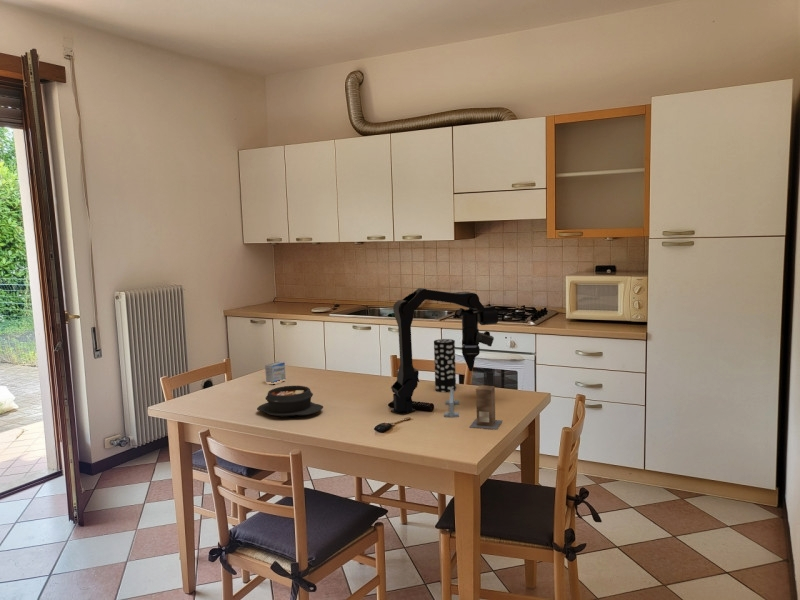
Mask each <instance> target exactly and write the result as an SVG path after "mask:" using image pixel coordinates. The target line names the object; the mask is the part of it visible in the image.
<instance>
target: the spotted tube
mask: <svg viewBox="0 0 800 600" xmlns="http://www.w3.org/2000/svg"><path fill="white" fill-rule="evenodd" d="M455 344H456V341H455V340H454V339H451V338H450V339H449V338H443V339H442V338H440V339H435V340H433V350H434V352H433V358H434V384H435V386H434V390H435V391H436V392H439V393H450V389H454V392H455V391H457V382H456V381H457V380H456V379H457V377H456V375H457V374H456V345H455Z"/></svg>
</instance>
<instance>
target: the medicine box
mask: <svg viewBox="0 0 800 600" xmlns="http://www.w3.org/2000/svg"><path fill="white" fill-rule="evenodd" d="M264 368H265V383H266V382H271V383H274V382H277V381H280V380H283V379H286V380H287V378H286V365H285V361H284V362H283V361H277V362H273V363H268V364H266V365H265V366H264Z"/></svg>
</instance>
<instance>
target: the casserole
mask: <svg viewBox="0 0 800 600" xmlns="http://www.w3.org/2000/svg"><path fill="white" fill-rule="evenodd" d="M313 395H314V393H313V392H312V391H311V388H310V387H308V386H305V385H287V386H279V387H276V388H275V387H274V388H272V389H270V390H269V391H268V392H267V395H266V397H265V401H266V402H265V403H263V404H261V405H259V406H258V407H257V408H256V410H257V411H259V412H263V413H265V414H268V415H271V416H276V417H279V416H294V415H298V416H308V415H312V414H316V413H318V412H320V411H322V410H323V409H324V406H323V405H322V404H318V403H315V402H312V397H313ZM294 417H295V416H294Z"/></svg>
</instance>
